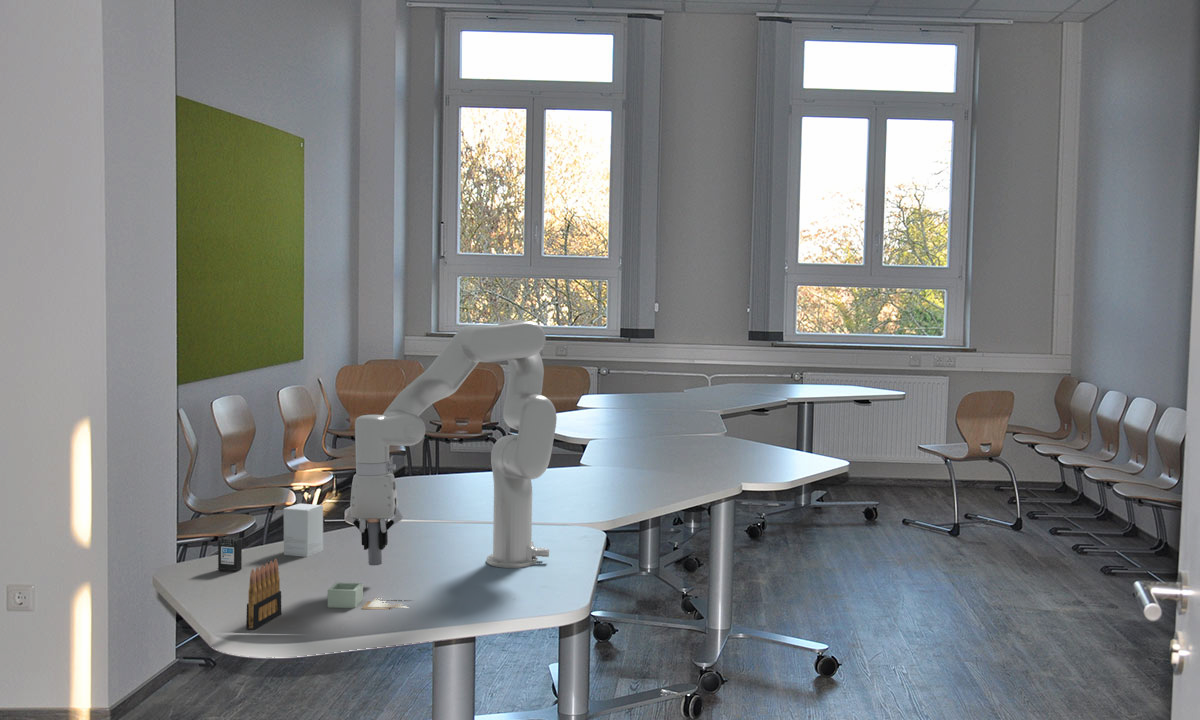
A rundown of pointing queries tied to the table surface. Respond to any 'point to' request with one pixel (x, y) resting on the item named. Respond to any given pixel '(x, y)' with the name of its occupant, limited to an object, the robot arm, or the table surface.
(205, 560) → the table surface
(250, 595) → the ammunition clip
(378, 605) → the writing board
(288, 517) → the supplement box
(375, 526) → the marker
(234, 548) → the ink cartridge
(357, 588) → the green open box
